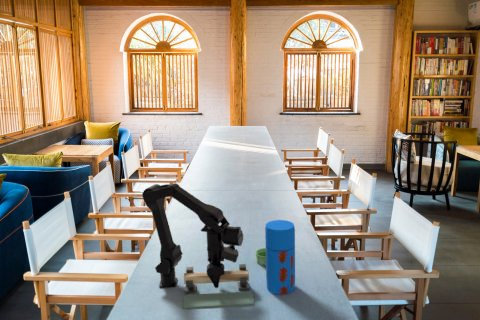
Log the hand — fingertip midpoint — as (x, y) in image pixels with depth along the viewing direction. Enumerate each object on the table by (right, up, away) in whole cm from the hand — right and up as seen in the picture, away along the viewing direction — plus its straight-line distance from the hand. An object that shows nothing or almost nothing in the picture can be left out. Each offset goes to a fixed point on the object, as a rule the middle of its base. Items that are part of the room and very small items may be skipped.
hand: (216, 281), depth 169 cm
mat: (+1, -5, -6) cm, 8 cm away
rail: (0, 0, 0) cm, 0 cm away
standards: (0, -3, +2) cm, 4 cm away
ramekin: (+20, +2, +24) cm, 31 cm away
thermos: (+24, -3, +1) cm, 24 cm away
